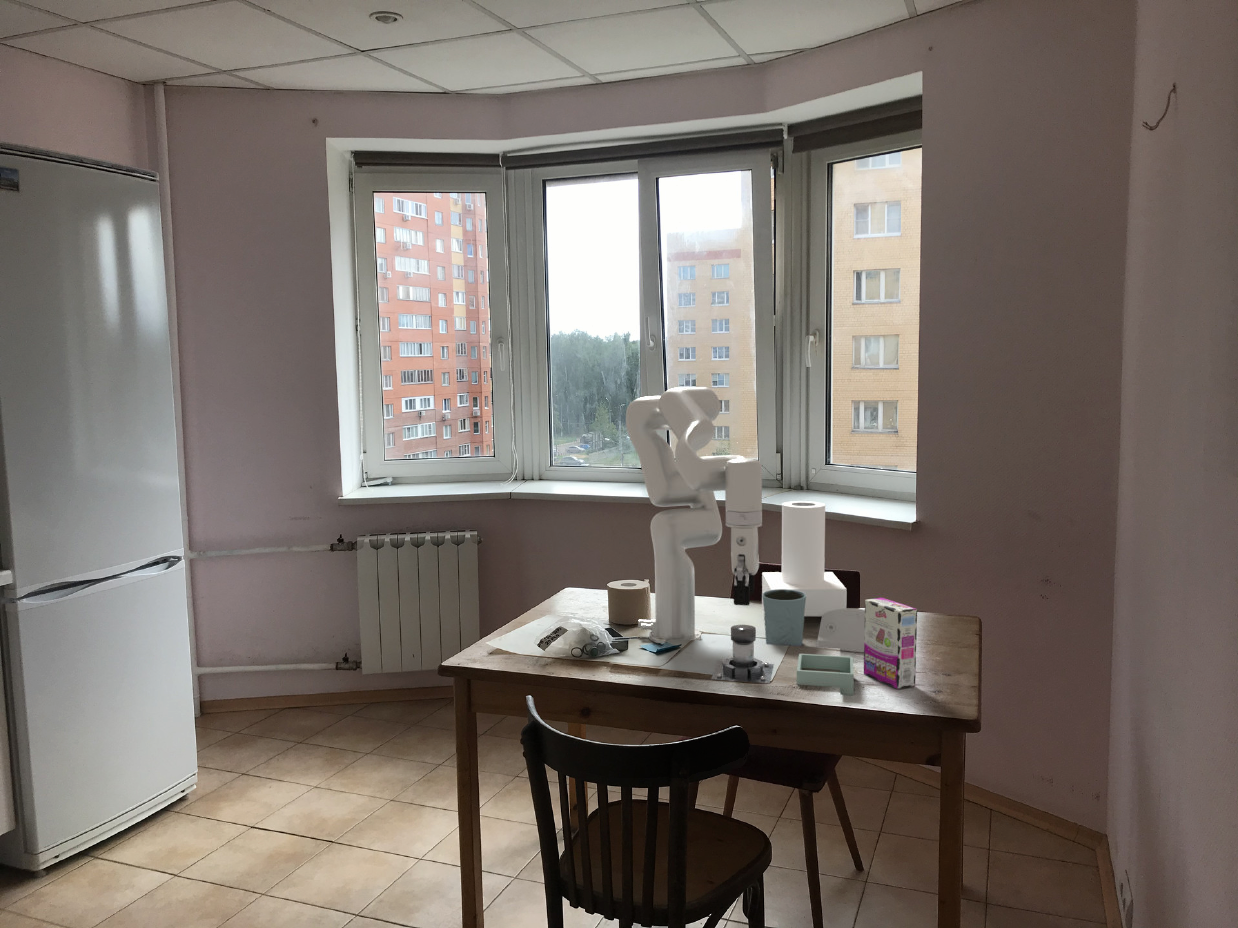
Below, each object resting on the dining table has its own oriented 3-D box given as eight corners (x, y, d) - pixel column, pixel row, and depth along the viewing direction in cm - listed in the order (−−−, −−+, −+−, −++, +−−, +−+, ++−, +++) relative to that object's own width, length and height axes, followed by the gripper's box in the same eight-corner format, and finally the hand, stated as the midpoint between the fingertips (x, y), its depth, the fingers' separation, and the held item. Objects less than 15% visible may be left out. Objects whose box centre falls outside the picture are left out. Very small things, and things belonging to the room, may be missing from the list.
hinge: (815, 647, 216) (818, 604, 218) (818, 648, 220) (820, 606, 222) (890, 654, 210) (891, 610, 212) (891, 655, 214) (892, 612, 217)
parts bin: (796, 691, 188) (796, 670, 187) (799, 672, 199) (799, 653, 198) (853, 694, 185) (853, 674, 185) (852, 676, 196) (853, 656, 195)
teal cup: (803, 637, 224) (803, 589, 222) (807, 650, 214) (808, 599, 212) (761, 636, 225) (761, 588, 223) (763, 649, 215) (763, 599, 213)
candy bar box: (917, 686, 190) (918, 608, 188) (897, 690, 188) (899, 611, 186) (881, 670, 200) (882, 596, 198) (862, 673, 198) (863, 598, 196)
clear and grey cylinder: (729, 674, 194) (729, 630, 193) (732, 666, 199) (732, 623, 198) (754, 676, 192) (754, 632, 191) (756, 668, 198) (756, 625, 196)
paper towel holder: (770, 628, 232) (771, 510, 229) (762, 608, 251) (762, 499, 247) (846, 628, 231) (847, 509, 228) (831, 608, 250) (833, 498, 247)
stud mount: (711, 685, 191) (711, 670, 191) (718, 667, 203) (718, 652, 203) (769, 689, 189) (769, 674, 188) (773, 670, 200) (773, 655, 200)
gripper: (758, 525, 183) (758, 610, 184) (765, 512, 199) (765, 590, 201) (720, 524, 184) (721, 608, 186) (730, 511, 201) (730, 588, 203)
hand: (744, 598), depth 194 cm, fingers open, 9 cm apart
